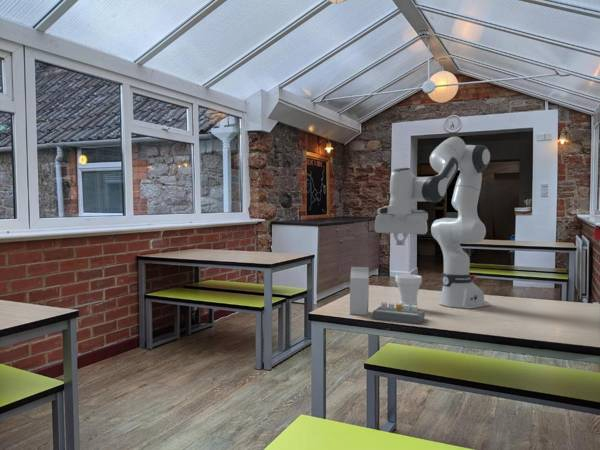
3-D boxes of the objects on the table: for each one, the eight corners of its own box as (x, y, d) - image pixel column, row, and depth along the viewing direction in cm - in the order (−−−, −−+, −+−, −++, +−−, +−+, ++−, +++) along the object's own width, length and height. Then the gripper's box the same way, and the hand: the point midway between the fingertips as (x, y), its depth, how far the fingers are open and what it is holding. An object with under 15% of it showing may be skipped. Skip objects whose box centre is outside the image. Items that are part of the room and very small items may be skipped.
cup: (422, 312, 204) (423, 278, 203) (395, 311, 206) (395, 277, 205) (420, 306, 215) (421, 274, 214) (394, 305, 217) (395, 273, 216)
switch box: (372, 318, 191) (373, 303, 191) (380, 313, 200) (380, 299, 200) (419, 324, 184) (419, 308, 183) (424, 318, 193) (424, 303, 192)
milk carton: (367, 315, 197) (368, 268, 196) (349, 314, 198) (350, 267, 198) (368, 311, 204) (369, 266, 203) (351, 310, 205) (352, 265, 205)
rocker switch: (396, 310, 192) (396, 304, 191) (397, 309, 193) (396, 303, 192) (401, 310, 191) (401, 305, 190) (402, 309, 192) (401, 304, 191)
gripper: (429, 209, 188) (429, 245, 189) (378, 209, 197) (377, 243, 198) (426, 210, 183) (425, 247, 183) (373, 209, 191) (373, 244, 192)
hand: (400, 245), depth 191 cm, fingers closed
